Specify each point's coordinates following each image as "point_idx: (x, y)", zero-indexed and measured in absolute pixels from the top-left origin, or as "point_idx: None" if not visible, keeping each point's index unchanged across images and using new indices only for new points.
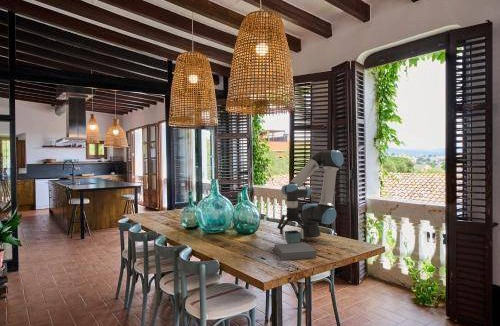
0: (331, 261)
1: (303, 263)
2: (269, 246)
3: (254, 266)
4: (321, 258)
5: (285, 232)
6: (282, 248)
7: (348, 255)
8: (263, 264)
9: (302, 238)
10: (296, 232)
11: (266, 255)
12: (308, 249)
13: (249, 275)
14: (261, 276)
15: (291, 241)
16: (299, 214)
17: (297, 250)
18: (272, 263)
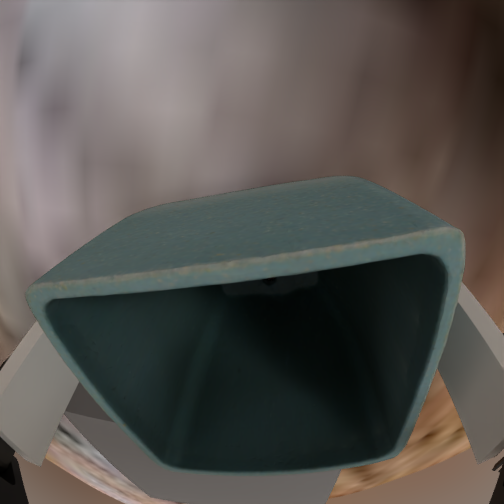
0: (357, 489)
1: None
2: (11, 249)
3: (74, 464)
4: (340, 479)
5: (69, 355)
6: (138, 473)
7: (469, 442)
8: (93, 467)
9: None
10: (416, 272)
11: (65, 416)
12: (295, 500)
13: (88, 484)
14: (116, 496)
15: (218, 369)
16: None
17: (227, 500)
18: (121, 473)
